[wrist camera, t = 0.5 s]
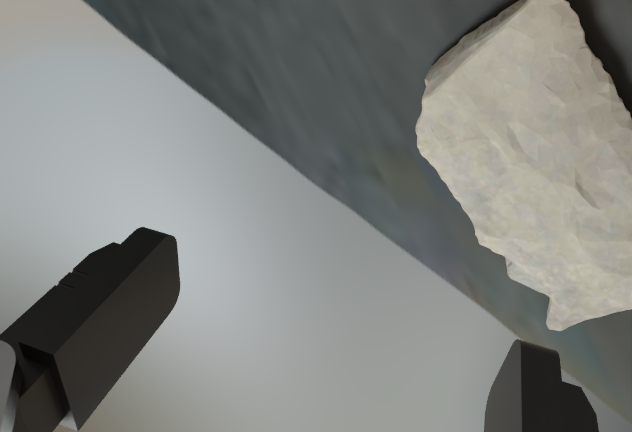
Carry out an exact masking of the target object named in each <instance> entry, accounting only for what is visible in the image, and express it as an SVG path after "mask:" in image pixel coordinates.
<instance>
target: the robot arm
mask: <svg viewBox="0 0 632 432" xmlns="http://www.w3.org/2000/svg"><path fill="white" fill-rule="evenodd" d="M179 291H180V277H179V265H178V253H177V242H176V239H175V237H174V236H171V235H168V234H165V233H161V232H158V231H155V230H151V229H148V228H145V227H141V228H138V229H136V230H135V231H134V232H133V233H132V234H131V235H130V236H129V237H128V238H127V239H126V240H125V241H124V242H122V243H121V244H117V243H114V242H113V243H111V244H109V245H107V246H105V247H103V248H101V249H99V250H96V251H95V252H92V253H90V254H89V255H88V256H87V257H86V258H85V259H84V260H83V261H81V262H80V263H79V264H78V265H77V266H76V267H75V268H74V269H73V272H72V273H70V272H69V273H68V274H67V275H66V276H65V277H64V278H63V279H61V280H60V281H59V284H58V285H57V286H54V287H53V288H52V289H51V290H49V291H48V292H47V293H46V294H45V295H44V296H43V297H42V298H40V299H39V300H38V301H37V302H36V303H35V304H34V305H33V306H32V307H31V308H30V309H28V310H27V311H26V312H25V313H24V314H23V315H22V316H21V317H20V318H18V319H17V320H16V321H15V322H14V323H13V324H12V325H11V326H9V327H8V328H7V329H6V330H5V331H4V332H3V333H2V334H0V432H53V430H54V429H55V428H56V427H57V426H58V424H60V425H63V426H65V427H68V428H70V429H73V430H75V431H79V429H80V428H81V427H82V426H83V424H84V423H85V422H86V420H87V419H88V418H89V417H90V415H91V414H92V413H93V411H94V410H95V409H96V408H97V406H98V405H99V404H100V402H101V401H102V400H103V399H104V397H105V396H106V395H107V393H108V392H109V391H110V390H111V388H112V387H113V386H114V384H115V383H116V382H117V381H118V379H119V378H120V377H121V375H122V374H123V373H124V372H125V370H126V369H127V368H128V366H129V365H130V364H131V363H132V361H133V360H134V359H135V357H136V356H137V355H138V353H139V352H140V351H141V350H142V348H143V347H144V346H145V345H146V343H147V342H148V341H149V339H150V338H151V337H152V336H153V334H154V333H155V331H156V330H157V329H158V328H159V326H160V325H161V324H162V323H163V321H164V320H165V319H166V318H167V316H168V315H169V314H170V312H171V311H172V309H173V308H174V306H175V304H176V302H177V299H178V296H179ZM484 432H599V430H598V423H597V417H596V413H595V412H594V410H593V408H592V406H591V404H590V403H589V401H588V399H587V397H586V396H585V394H584V392H583V390H582V388H581V387H579V386H575V385H572V384H569V383H566V382H562V378H561V367H560V358H559V354H558V352H557V351H555V350H552V349H549V348H545V347H542V346H538V345H535V344H532V343H528V342H525V341H522V340H518V339H517V340H515V341H514V343H513V345H512V346H511V348H510V350H509V352H508V355H507V357H506V359H505V360H504V362H503V364H502V366H501V369H500V371H499V373H498V375H497V377H496V379H495V381H494V383H493V385H492V387H491V390H490V393H489V396H488V400H487V405H486V411H485V426H484Z"/></svg>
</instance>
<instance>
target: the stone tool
mask: <svg viewBox="0 0 632 432" xmlns="http://www.w3.org/2000/svg"><path fill="white" fill-rule="evenodd" d="M602 67H603V64H602V63H601V61H600V59H599V58H596V57H595V55H594V54H593V53H592V51H591V50H590V48H589V47H588V45H587V44H586V42H585V32H584V31H583V29H582V27H581V25H580V20H579V17H578V15H577V14H576V12H575V11H574V10H573V9H572V8H571V7H570V4H569V2H567V1H566V0H519V1H517V2H516V3H515V4H513V5H511V6H510V7H508V8H507V9H505V10H504V11H502V12H500V13H499V15H498V16H497V17H495V18H493V19H491V20H489V21H487V22H486V23H484V24H482V25H481V26H480V27H479V28H478V29H476V30H475V31H473V32H471V33H469V34H467V35H465V36H464V37H463V38H461V40H460V41H459V43H458V44H457V45H456V46H454V47H453V48H451V49H450V50H449V51H447V52H446V53H445V54H444V55H443V56H442V57H440V58H439V60H438V61H437V62H436V63H435V64H434V65H433V66H432V67H431V68H430V69H429V71H428V74H427V76H426V78H425V83H426V89H425V92H424V95H423V98H422V113H421V115H420V117H419V119H418V121H417V124H416V134H417V147H418V149H419V151H420V154H421V155H422V156H423V157H424V158H426V159H427V160H428V161H429V163H430V164H431V165H432V166H433V167H434V168H435V169H436V170H437V172H438V173H439V175H440V177H441V179H442V180H443V181H444V182H445V183H446V184H447V186H448V188H449V190H450V191H451V192H452V194H453V196H454V197H455V198H456V199H457V200H458V201H459V202H460V204H461V206H462V208H463V210H464V211H465V212H466V213H467V214H468V216H469V217H470V219H471V221H472V222H473V225H474V228H475V235H476V236H477V238H478V241H479V244H480V245H483V246H485V247H487V248H490V249H491V250H492V251H493V252H495V253H497V254H501V255H503V256H504V257H505V258H506V265H507V272H508V275H509V277H510V278H511V279H512V280H515V281H517V282H520V283H522V284H524V285H526V286H528V287H530V288H532V289H534V290H536V291H538V292H541V293H544V294H546V295H547V296H549V297H550V302H549V306H548V310H547V321H546V323H547V326H548V328H549V329H551V330H557V331H562V330H564V329H566V328H567V327H569V326H572V325H575V324H577V323H579V322H582V321H584V320H588V319H591V318H597V317H602V316H605V315H608V314H611V313H615V312H618V311H624V310H629V309H632V118H631V116H630V112H629V111H628V110H626V108H625V106H624V104H623V101H622V99H621V98H620V97H619V96H618V94H617V91H616V88H615V85H614V83H613V81H612V78H611V76H610V74H608V73H607V72H605V70H604V69H603V68H602ZM493 97H494V98H493Z"/></svg>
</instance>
